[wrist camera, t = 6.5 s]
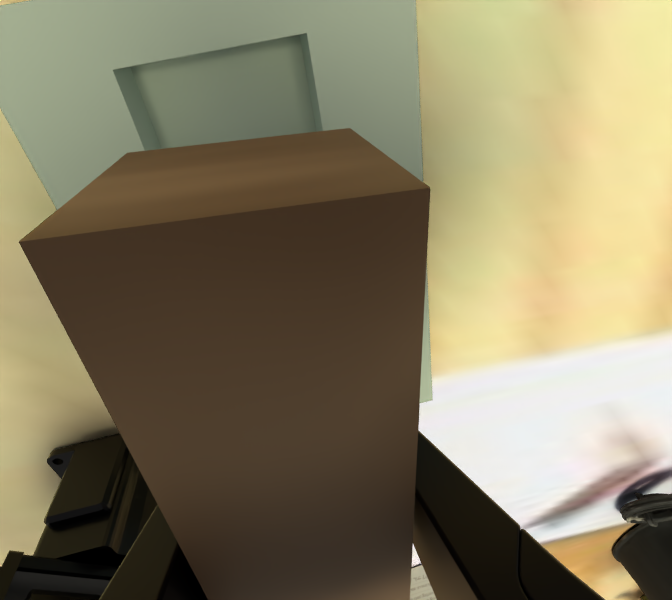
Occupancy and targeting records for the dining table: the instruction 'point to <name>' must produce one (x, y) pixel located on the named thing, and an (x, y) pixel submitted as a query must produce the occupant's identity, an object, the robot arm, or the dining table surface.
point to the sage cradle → (206, 81)
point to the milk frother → (648, 544)
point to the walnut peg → (258, 351)
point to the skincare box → (420, 585)
